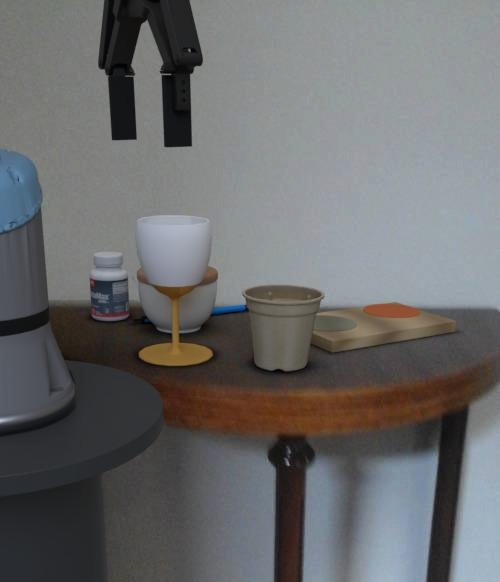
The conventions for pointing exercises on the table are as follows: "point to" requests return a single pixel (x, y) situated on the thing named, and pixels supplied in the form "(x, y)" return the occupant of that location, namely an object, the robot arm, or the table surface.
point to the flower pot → (282, 324)
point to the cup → (174, 275)
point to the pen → (215, 311)
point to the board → (373, 328)
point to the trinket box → (179, 303)
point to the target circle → (391, 310)
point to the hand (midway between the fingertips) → (149, 143)
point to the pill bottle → (109, 287)
